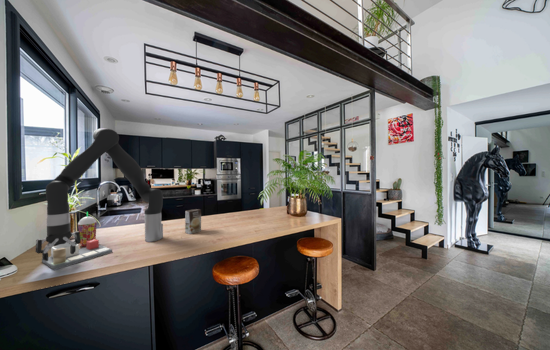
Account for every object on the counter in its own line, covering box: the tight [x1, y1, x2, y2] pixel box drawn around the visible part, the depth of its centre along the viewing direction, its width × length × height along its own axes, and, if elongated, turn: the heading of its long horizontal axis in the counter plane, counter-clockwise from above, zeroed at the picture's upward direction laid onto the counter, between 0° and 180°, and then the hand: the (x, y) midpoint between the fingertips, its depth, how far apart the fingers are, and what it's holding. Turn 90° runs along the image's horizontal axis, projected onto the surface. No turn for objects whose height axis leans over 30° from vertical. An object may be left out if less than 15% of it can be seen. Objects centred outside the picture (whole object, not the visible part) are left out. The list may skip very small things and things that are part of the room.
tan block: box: [53, 248, 66, 264], centre depth 93 cm, size 4×4×6 cm
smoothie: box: [77, 211, 98, 247], centre depth 119 cm, size 8×8×20 cm
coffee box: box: [184, 208, 202, 235], centre depth 144 cm, size 9×6×16 cm
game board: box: [41, 239, 113, 271], centre depth 103 cm, size 22×17×6 cm
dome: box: [56, 242, 71, 249], centre depth 101 cm, size 6×6×6 cm
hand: (59, 257), depth 93 cm, fingers open, 8 cm apart
